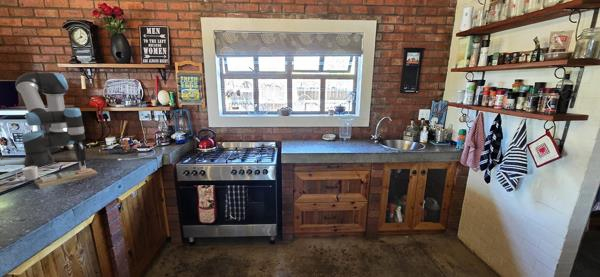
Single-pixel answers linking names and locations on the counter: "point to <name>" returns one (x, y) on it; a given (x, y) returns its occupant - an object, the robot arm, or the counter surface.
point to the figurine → (126, 148)
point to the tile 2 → (66, 174)
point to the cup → (29, 173)
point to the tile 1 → (48, 178)
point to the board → (65, 179)
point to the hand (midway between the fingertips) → (83, 170)
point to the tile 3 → (83, 171)
